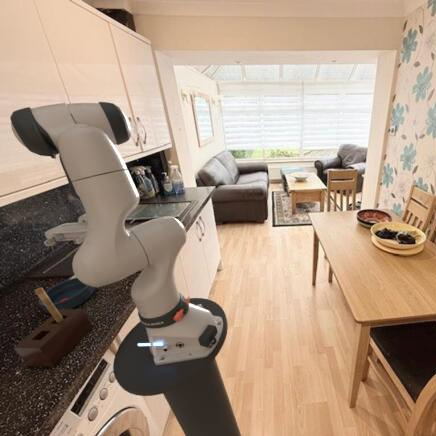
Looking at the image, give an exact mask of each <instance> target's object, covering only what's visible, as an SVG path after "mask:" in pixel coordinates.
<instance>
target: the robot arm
mask: <svg viewBox="0 0 436 436" xmlns="http://www.w3.org/2000/svg"><path fill="white" fill-rule="evenodd" d="M9 119H10V127H11V131H12V133H13V135H14V137H15V138H16V140H17V141H18V142H19V143H20V144H21V145H22V146H23V147H25V148H26V149H27V150H28V151H29V152H31V153H33V154H35V155H37V156H40V157H50V158H51V159H55V160H56V159H57V155H58V157H59V162H60V164H61V167H62V169H63V173H64V175H65V177H66V180H67V182H68V190H69V193H70V195H71V196H72V197H73V199H74V198H75V199H76V200H80V201H81V204H82V206H83V209H84V211H85V213H84V214H81V215H80V216H79V217H78V219H77V222H66V223H63V224H59V225H57V226H55V227H52V228H51V229H48V230H46V231H45V232H44V236H45V238H46V240H44V242H43V244H44V245H45V247H52V246H54V245H55V244H57V243H56V242H67V241H72V242H73V244H74V245H80V246H79V248H78V249H77V251H76V252H75V254H74V256H73V258H72V264H71V265H72V266H71V267H72V272H73V274H75V276H76V277H77V278H78V279H79V280H80V281H81V282H82V283H84V284H86V285H88V286H91V287H95V288H102V287H105V286H108V285H111V284H114V283H117V282H120V281H122V280H123V279H126V278H128V277H130V276H132V275H134V274H136V273H138V272H140V271H141V272H140V273H139V275H138V276H137V277H135V280H134V281H133V282H132V285H131V287H130V288H131V289H130V297H131V299H132V302H133V304H134V305H135V307H136V310H137V315H138V318H139V322H140V321H141V323H142V324H143V326H145V328H146V331H147V335H148V339H149V343H140V344H138V346H149V349H150V352H151V353H152V355H153V356H154V362H155V364H156V365H162V364H168V363H174V362H180V361H186V360H192V359H198V358H204V357H207V356H208V355H209V354H210V353H211V352H212V351H213V350H214V348H215V347H216V345H217V343H218V341H219V339H220V337H221V334H222V330H223V320H222V318H221V317H218V316H213V315H212V313H211V312H210V311H209V310H207V309H204V308H203V306H202V305H200V304H198V305H194V304H191V303H189V301H190V299H189V298H190V296H188V297H187V298H186V297H185V296H184V295H183V294H182V293H181V292H180V291H179V288H178V285H177V281H176V277H175V268H176V264H177V263H176V262H177V260H178V256H179V254H180V252H181V251H182V249H183V248H184V246H185V245H186V243H187V239H188V238H187V237H188V233H187V229H186V227H185V226H184V224H183V222H182V221H180V220H179V219H178V218H176V217H174V216H171V215H170V216H169V215H168V216H163V217H158V218H153V219H150V220H148V221H144V222H142V223H140V224H136V225H134V226H132V227H128V228H126V227H125V223H126V219H127V218H128V216H129V215H130V214H131V213H133V212H134V211H135V209H136V208H137V207H138V205H139V203H140V198H141V197H140V193H139V192H138V188H137V187H136V184H135V182H134V180H133V177H132V175H131V173H130V171H129V169H128V167H127V164H126V162H125V161H124V159H123V157H122V155H121V153H120V152H119V150H118V149H117V147H116V146H120V145H123V144H124V143H127V142H129V141H130V138H131V137H132V134H131V123H130V120H129V119H128V117H127V115H126V114H125V112H123V110H122V109H121V108H120V107H119V106H118V105H116V104H115V103H112V102H108V101H98V102H72V103H66V102H62V103H53V104H47V105H41V106H36V107H30V106H27V107H23V108H20V109H17V110H13V111H12V113H11V115H10V118H9ZM115 145H116V146H115ZM186 299H187V300H186ZM210 347H211V348H210ZM163 359H164V360H163Z"/></svg>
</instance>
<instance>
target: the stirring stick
mask: <svg viewBox="0 0 436 436" xmlns="http://www.w3.org/2000/svg"><path fill="white" fill-rule="evenodd" d="M34 292H35V294H36V295H37V296H38V298H40V299H41V301H42V302H43V303H44V305H45V306H46V308H47V309H48V310H49V312H50V313H51V314H50V315H51V316H53V318H54V319H55V320H56V322H57V323H58V324H59V323H60V322H62V321H63V320H64V319H63V317H62V316H61V314H60V313H59V311H58V310H57V308H56V307H55V306H54V304H53V303H52V301H51V300H50V298H49V297H48V295H47V294H46V291H45V289H44V288H43V287H37V288H36V289H34Z"/></svg>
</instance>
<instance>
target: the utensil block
mask: <svg viewBox="0 0 436 436" xmlns="http://www.w3.org/2000/svg"><path fill="white" fill-rule="evenodd" d="M59 313H60V314H61V316H62V317H63V319H64V320H63V321H62V322H60V323H59V324H58V323H57V322H56V320H55V319H54V318H53V316H52V315H51V316H50V317H49V318H47V319H46V320H45V321H44V322H43V323H41V324H40V325H39V326H38V327H37V328H35V329H34V330H33V331H32V332H31V333H30V334H28V335H27V336H26V337H24V338H23V339H22V340H21V341H20V342H18V343H17V344H16V345H15V346H14V347H13V349H14V351H15V352H17V354H18V355H19V356H20V357H21V359H23V361H24V362H25V363H26V364H27V365H28V366H29V367H41V368H42V367H47V368H50V367H51V368H55V367H56V366H57V365H58V364H59V363H60V362H61V361H62V360H63V359H64V358H65V357H66V356H67V355H68V353H69V352H71V350H72V349H73V348H74V347H76V345H77V344H78V343H79V342H80V341H81V340H82V339H83V338H84V337H85V336H86V335H87V334H88V333H89V332H90V331H91V330H92V329H93V328H94V326H93V324H92V322H91V321H90V319H89V317H88V315H87V314H86V312H85V311H84V310H83V308H82V309H80V308H79V309H77V308H76V309H75V308H73V309H60V310H59Z"/></svg>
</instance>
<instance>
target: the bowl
mask: <svg viewBox="0 0 436 436" xmlns="http://www.w3.org/2000/svg"><path fill="white" fill-rule="evenodd" d="M95 288H96V287H91V286H88V285H86V284H84V283H82V282H81V281H80V280H79V279H78V278H73V279H70V280H66V279H65V280H64V281H62V282H60V283H57V284H55V285H53V286H52V287H50V288H49V289H47V290H46V291H45V292H46V294H47V295H48V297H49V298H50V300H51V301H52V303H53V304H54V306H55V307H56V308H57V310H58V311H59V310H60V309H75V308H77V307H79V306H81V305H82V304H84V303H85V302H86V301H88V300H89V299H90V298H91V296H92V295H93V293H94V292H95V290H96V289H95ZM38 298H39V297H38ZM64 298H68V299H66V300H64V301H61V300H62V299H64ZM60 301H61V302H60ZM38 304H39V306H40V307H41V309H42V311H44V313H47V314H50V315H51V313H50V312H49V310H48V309H47V308H46V306H45V305H44V303H43V302H42V301H41V299H40V298H39V299H38Z"/></svg>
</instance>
